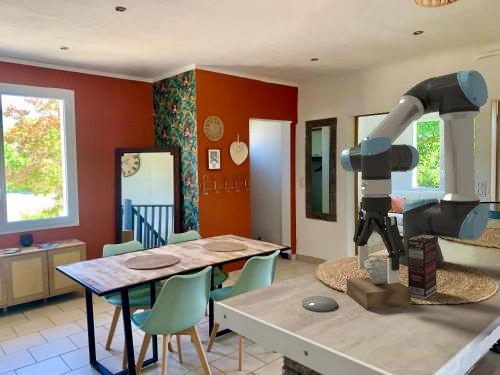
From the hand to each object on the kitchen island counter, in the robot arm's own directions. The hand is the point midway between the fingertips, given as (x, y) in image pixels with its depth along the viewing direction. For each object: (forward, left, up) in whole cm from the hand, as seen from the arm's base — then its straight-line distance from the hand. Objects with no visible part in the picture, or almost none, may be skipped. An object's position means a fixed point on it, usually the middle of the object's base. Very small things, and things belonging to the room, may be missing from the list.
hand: (377, 275), depth 101 cm
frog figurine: (0, 0, -2) cm, 2 cm away
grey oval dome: (+16, -2, -7) cm, 17 cm away
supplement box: (-14, 0, -7) cm, 16 cm away
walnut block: (0, 0, -7) cm, 7 cm away
